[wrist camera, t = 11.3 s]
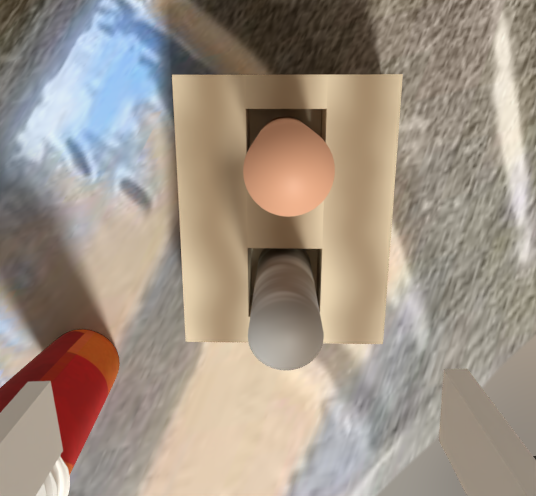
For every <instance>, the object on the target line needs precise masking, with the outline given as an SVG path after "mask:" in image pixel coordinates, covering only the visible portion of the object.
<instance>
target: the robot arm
mask: <svg viewBox="0 0 536 496" xmlns="http://www.w3.org/2000/svg"><path fill="white" fill-rule="evenodd" d="M439 441H440V443H441V445H442V447H443V449H444V451H445V453H446V455H447V457H448V459H449V461H450V463H451V465H452V467H453V469H454V471H455V473H456V475H457V477H458V479H459V481H460V483H461V485H462V487H463V489H464V491H465V493H466V495H467V496H536V456H532V454H531V453H530V452H529V450H528V449H527V448H526V446H525V445H524V444H523V442H522V441H521V440H520V438H519V437H518V436H517V435H516V433H515V432H514V430H513V429H512V428H511V426H510V425H509V424H508V422H507V421H506V420H505V418H504V417H503V416H502V414H501V413H500V412H499V411H498V409H497V408H496V406H495V405H494V404H493V402H492V401H491V400H490V398H489V397H488V396H487V395H486V393H485V392H484V390H483V389H482V388H481V386H480V385H479V384H478V382H477V381H476V380H475V378H474V377H473V376H472V374H471V373H470V372H469V371H468V369H444V375H443V389H442V403H441V417H440V431H439ZM62 452H63V447H62V441H61V436H60V430H59V425H58V419H57V414H56V408H55V402H54V397H53V391H52V386H51V381H32V382H27V383H26V384H25V386H24V387H23V388H22V389H21V390H20V391H19V392H18V393H17V395H16V396H15V397H14V398H13V399H12V400H11V401H10V402H9V404H8V405H7V406H6V407H5V408H4V409H3V410H2V412H1V413H0V496H36V495H37V493H38V491H39V490H40V488H41V486H42V485H43V483H44V481H45V480H46V478H47V476H48V475H49V473H50V471H51V470H52V468H53V466H54V465H55V463H56V461H57V460H58V458H59V457H60V455H61V453H62Z"/></svg>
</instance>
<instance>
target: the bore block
mask: <svg viewBox="0 0 536 496" xmlns="http://www.w3.org/2000/svg"><path fill="white" fill-rule="evenodd" d="M402 76H403V74H374V75H172V85H173V105H174V124H175V143H176V162H177V181H178V200H179V219H180V238H181V258H182V277H183V296H184V315H185V334H186V342H249V346H250V348H251V350H252V352H253V354H254V355H255V356H256V358H257V359H258V360H259V361H261V362H262V363H263V364H265V365H267V366H269V367H271V368H274V369H278V370H294V369H298V368H301V367H303V366H305V365H307V364H308V363H310V362H311V361H312V360H313V359H314V358H315V357H316V356H317V355H318V353H319V352H320V350H321V347H322V344H323V343H342V344H383V335H384V321H385V308H386V294H387V281H388V267H389V253H390V240H391V226H392V213H393V199H394V185H395V172H396V158H397V144H398V131H399V117H400V104H401V90H402ZM284 116H286V117H293V118H296V119H298V120H300V121H301V122H302V123H304V124H305V125H306V126H307V127H309V128H310V129H311V130H313V131H314V132H315V133H316V134H318V135H319V136H320V137H321V138H322V139H323V140H324V141H325V143H326V144H327V145H328V147H329V149H330V151H331V153H332V156H333V159H334V165H335V176H334V181H333V185H332V187H331V190H330V192H329V194H328V195H327V197H326V198H325V199H324V201H323V202H322V203H321V204H320V205H318V206H317V207H316V208H315V209H313V210H311V211H310V212H307V213H305V214H302V215H298V216H290V217H287V216H279V215H275V214H272V213H270V212H268V211H266V210H264V209H263V208H261V207H260V206H259V205H258V204H257V203H256V202H255V201H254V200H253V199H252V197H251V196H250V194H249V192H248V190H247V188H246V185H245V182H244V175H243V166H244V160H245V157H246V154H247V152H248V150H249V148H250V146H251V145H252V143H253V142H254V140H255V139H256V137H257V136H258V134H259V133H260V131H261V129H262V128H263V127H264V126H265V125H266V124H267V123H268V122H269V121H271V120H273V119H275V118H278V117H284Z"/></svg>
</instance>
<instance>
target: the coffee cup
mask: <svg viewBox="0 0 536 496" xmlns="http://www.w3.org/2000/svg"><path fill="white" fill-rule="evenodd" d="M118 370H119V356H118V353H117V351H116V349H115V347H114V345H113V344H112V343H111V342H110V341H109V340H108V339H107V338H106V337H104V336H103V335H101V334H99V333H97V332H95V331H91V330H86V329H78V330H73V331H70V332H67V333H65V334H64V335H62V336H61V337H59V338H58V339H57V340H55V341H54V342H53V343H52V344H50V345H49V346H48V347H47V348H46V349H45V350H43V351H42V352H41V353H40V354H39V355H38V356H36V357H35V358H34V359H33V360H32V361H31V362H29V363H28V364H27V365H26V366H25V367H24V368H23V369H21V370H20V371H19V372H18V373H17V374H16V375H15V376H13V377H12V378H11V379H10V380H9V381H8V382H7V383H5V384H4V385H3V386H2V387H1V388H0V413H1V412H2V410H3V409H4V408H5V407H6V406H7V405H8V404H9V402H10V401H11V400H12V399H13V398H14V397H15V396H16V395H17V393H18V392H19V391H20V390H21V389H22V388H23V387H24V386H25V384H26V383H27V382H32V381H51V386H52V391H53V397H54V402H55V408H56V414H57V419H58V425H59V430H60V436H61V441H62V447H63V452H62V453H61V455H60V457H59V458H58V460H57V461H56V463H55V465H54V466H53V468H52V470H51V471H50V473H49V475H48V476H47V478H46V480H45V481H44V483H43V485H42V486H41V488H40V490H39V491H38V493H37V495H36V496H67V495H68V493H69V488H70V473H71V471H72V469H73V467H74V465H75V463H76V461H77V458H78V456H79V454H80V452H81V450H82V448H83V446H84V444H85V442H86V440H87V438H88V436H89V434H90V432H91V430H92V428H93V426H94V423H95V421H96V419H97V417H98V415H99V413H100V411H101V409H102V407H103V405H104V403H105V400H106V398H107V396H108V394H109V392H110V390H111V388H112V386H113V383H114V381H115V379H116V376H117V374H118Z"/></svg>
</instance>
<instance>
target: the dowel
mask: <svg viewBox="0 0 536 496" xmlns="http://www.w3.org/2000/svg"><path fill="white" fill-rule="evenodd" d="M243 175H244V182H245V185H246V188H247V190H248V192H249V194H250V196H251V197H252V199H253V200H254V201H255V202H256V203H257V204H258V205H259V206H260V207H261V208H263V209H264V210H266V211H268V212H270V213H272V214H275V215H279V216H287V217H290V216H298V215H302V214H305V213H307V212H310V211H311V210H313V209H315V208H316V207H317V206H318V205H320V204H321V203H322V202H323V201H324V199H325V198H326V197H327V195H328V194H329V192H330V190H331V187H332V185H333V181H334V176H335V165H334V159H333V156H332V153H331V151H330V149H329V147H328V145H327V144H326V143H325V141H324V140H323V139H322V138H321V137H320V136H319V135H318V134H316V133H315V132H314V131H313V130H311V129H310V128H309V127H307V126H306V125H305V124H304V123H302V122H301V121H300V120H298V119H296V118H293V117H286V116H284V117H278V118H275V119H273V120H271V121H269V122H268V123H267V124H266V125H265V126H264V127H263V128H262V129H261V131H260V133H259V134H258V136H257V137H256V139H255V140H254V142H253V143H252V145H251V146H250V148H249V150H248V152H247V154H246V157H245V160H244V166H243Z"/></svg>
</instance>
